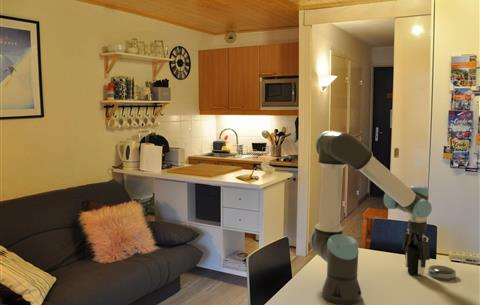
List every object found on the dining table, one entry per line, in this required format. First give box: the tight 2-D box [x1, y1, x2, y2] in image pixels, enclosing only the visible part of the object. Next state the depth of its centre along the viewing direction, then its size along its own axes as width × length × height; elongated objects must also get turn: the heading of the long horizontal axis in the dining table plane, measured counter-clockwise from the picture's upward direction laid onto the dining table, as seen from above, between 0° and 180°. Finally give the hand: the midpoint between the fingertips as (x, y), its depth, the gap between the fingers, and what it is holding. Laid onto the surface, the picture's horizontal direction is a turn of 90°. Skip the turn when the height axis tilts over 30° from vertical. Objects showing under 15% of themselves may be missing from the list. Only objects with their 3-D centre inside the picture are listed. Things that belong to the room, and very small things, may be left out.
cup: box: [407, 243, 422, 276], centre depth 190 cm, size 8×8×12 cm
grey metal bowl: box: [427, 265, 457, 282], centre depth 189 cm, size 11×11×3 cm
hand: (414, 270), depth 191 cm, fingers closed on cup, 8 cm apart
